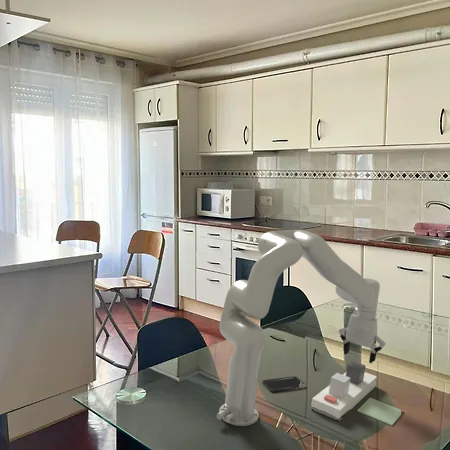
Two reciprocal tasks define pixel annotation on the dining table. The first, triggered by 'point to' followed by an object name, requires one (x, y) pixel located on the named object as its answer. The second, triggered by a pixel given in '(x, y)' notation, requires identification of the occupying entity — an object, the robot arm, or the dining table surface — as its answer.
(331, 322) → the dining table surface
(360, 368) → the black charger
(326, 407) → the power strip
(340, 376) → the block
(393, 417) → the green mat
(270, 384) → the phone
